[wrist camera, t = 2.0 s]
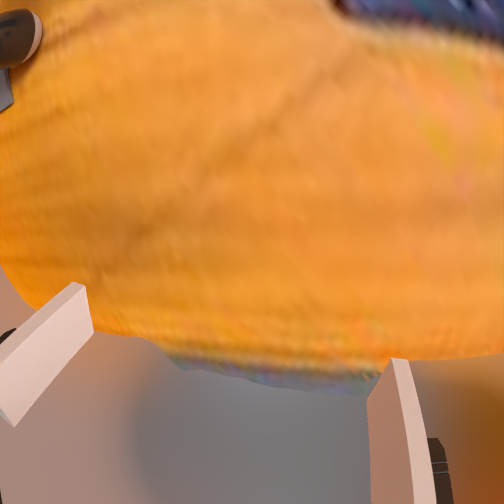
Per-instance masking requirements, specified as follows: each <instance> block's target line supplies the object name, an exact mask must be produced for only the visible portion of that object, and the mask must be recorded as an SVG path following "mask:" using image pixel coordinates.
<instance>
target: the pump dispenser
mask: <svg viewBox="0 0 504 504" xmlns="http://www.w3.org/2000/svg"><path fill="white" fill-rule="evenodd" d="M41 36H42V24H41V21H40V19H39V17H38V16H37V15H36V14H35V13H33V12H31V11H30V10H28V9H24V8H21V9H14V10H9V11H6V12H2V13H0V70H7V69H12V68H15V67H17V66H19V65H20V64H21V63H23V62H24V61H26V60H27V59H28V58H30V57H31V56H32V54H33V53H34V52H35V50H36V49H37V47H38V45H39V43H40V40H41Z"/></svg>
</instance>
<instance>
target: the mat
mask: <svg viewBox="0 0 504 504" xmlns="http://www.w3.org/2000/svg"><path fill="white" fill-rule="evenodd" d="M13 103H14V100H13V96H12V91H11V85H10V80H9V74H8V69H7V70H0V112H1V111H3V110H4V109H6V108H7V107H8V106H10V105H11V104H13Z"/></svg>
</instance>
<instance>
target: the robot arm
mask: <svg viewBox="0 0 504 504" xmlns="http://www.w3.org/2000/svg"><path fill="white" fill-rule="evenodd" d="M93 334H94V330H93V326H92V321H91V316H90V311H89V305H88V300H87V294H86V288H85V286H84V285H81V284H79V283H76V282H72V283H70V284H69V285H68V286H67V287H66V288H64V289H63V290H62V291H61V292H59V293H58V294H57V295H56V296H55V297H53V298H52V299H51V300H50V301H49V302H47V303H46V304H45V305H44V306H43V307H42V308H40V309H39V310H38V311H37V312H36V313H35V314H33V315H32V316H31V317H30V318H29V319H28V320H27V321H25V322H24V323H23V324H22V325H21V326H20V327H19V328H18V329H16V328H14V329H11V330H9V331H7V332H5V333H4V334H3V335H2V336H1V337H0V415H1V416H2V418H4V419H5V420H6V421H7V422H8V423H10V424H11V425H12V426H13V427H15V426H16V425H17V423H18V422H19V421H20V420H21V418H22V417H23V416H24V415H25V413H26V412H27V411H28V410H29V408H30V407H31V406H32V405H33V403H34V402H35V401H36V400H37V398H38V397H39V396H40V395H41V394H42V392H43V391H44V390H45V389H46V388H47V386H48V385H49V384H50V383H51V382H52V380H53V379H54V378H55V377H56V375H57V374H58V373H59V372H60V371H61V370H62V368H63V367H64V366H65V365H66V364H67V363H68V362H69V361H70V359H71V358H72V357H73V356H74V355H75V354H76V353H77V351H78V350H79V349H80V348H81V347H82V346H83V344H85V342H86V341H87V340H88V339H89V338H90V337H91V336H92V335H93ZM366 403H367V415H368V426H369V427H368V428H369V443H370V464H371V504H454V503H453V495H452V488H451V482H450V476H449V473H448V466H447V464H446V462H447V460H446V455H445V450H444V448H443V446H442V445H441V443H440V441H439V440H438V438H426V433H425V428H424V423H423V418H422V414H421V409H420V405H419V401H418V397H417V393H416V389H415V385H414V381H413V377H412V373H411V370H410V366H409V363H408V360H406V359H397V358H391V359H390V361H389V363H388V365H387V367H386V368H385V370H384V372H383V374H382V376H381V377H380V379H379V381H378V382H377V384H376V386H375V388H374V389H373V391H372V392H371V394H370V396H369V397H368V399H367V400H366ZM0 504H2V499H1V493H0Z"/></svg>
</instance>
